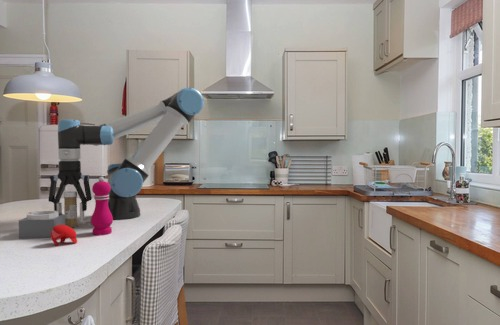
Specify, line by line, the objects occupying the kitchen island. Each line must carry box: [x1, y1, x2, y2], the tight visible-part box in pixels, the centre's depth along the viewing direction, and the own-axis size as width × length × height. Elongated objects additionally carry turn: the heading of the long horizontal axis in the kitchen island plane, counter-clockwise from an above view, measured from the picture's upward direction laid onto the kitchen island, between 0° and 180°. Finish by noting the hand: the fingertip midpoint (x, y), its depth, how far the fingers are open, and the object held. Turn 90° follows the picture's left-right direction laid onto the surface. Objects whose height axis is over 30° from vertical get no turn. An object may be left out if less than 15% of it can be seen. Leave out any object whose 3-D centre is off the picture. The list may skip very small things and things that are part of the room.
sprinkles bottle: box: [63, 190, 78, 228], centre depth 138 cm, size 5×5×13 cm
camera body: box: [18, 210, 65, 239], centre depth 125 cm, size 11×10×8 cm
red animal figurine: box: [50, 225, 78, 247], centre depth 113 cm, size 8×6×6 cm
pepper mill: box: [90, 176, 114, 236], centre depth 126 cm, size 7×7×20 cm
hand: (70, 219), depth 138 cm, fingers open, 8 cm apart
